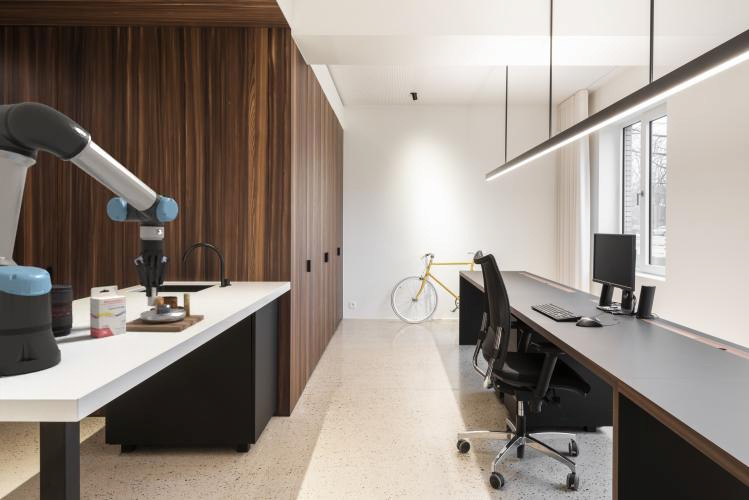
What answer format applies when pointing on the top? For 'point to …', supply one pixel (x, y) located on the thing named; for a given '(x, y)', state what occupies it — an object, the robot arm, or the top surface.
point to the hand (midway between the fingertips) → (151, 305)
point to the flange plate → (162, 313)
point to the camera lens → (61, 309)
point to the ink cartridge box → (107, 312)
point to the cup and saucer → (171, 302)
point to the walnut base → (167, 326)
